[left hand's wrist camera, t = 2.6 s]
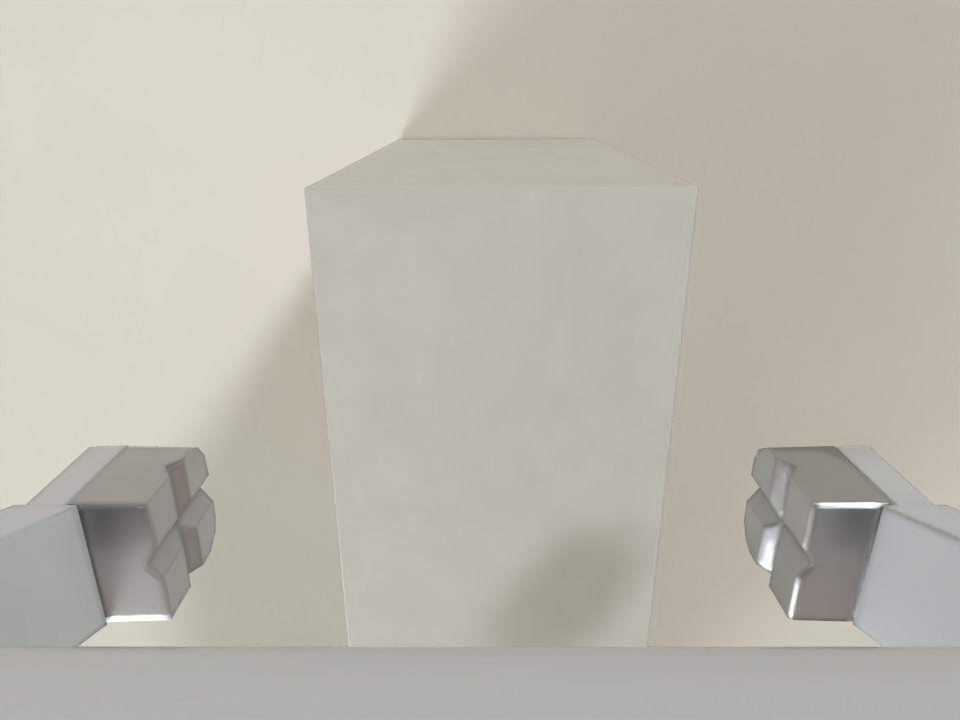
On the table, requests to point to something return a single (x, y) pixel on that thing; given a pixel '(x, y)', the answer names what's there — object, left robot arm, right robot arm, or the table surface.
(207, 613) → the table surface
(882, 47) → the table surface
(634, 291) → the box
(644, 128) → the table surface
